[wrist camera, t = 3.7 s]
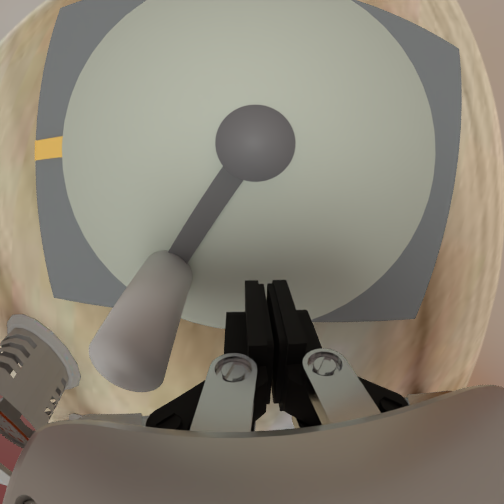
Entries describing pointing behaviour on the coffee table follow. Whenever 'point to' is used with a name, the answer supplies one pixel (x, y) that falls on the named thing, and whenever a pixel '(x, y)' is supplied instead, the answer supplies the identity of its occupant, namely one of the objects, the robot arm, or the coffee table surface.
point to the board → (110, 288)
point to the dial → (241, 164)
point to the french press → (31, 379)
